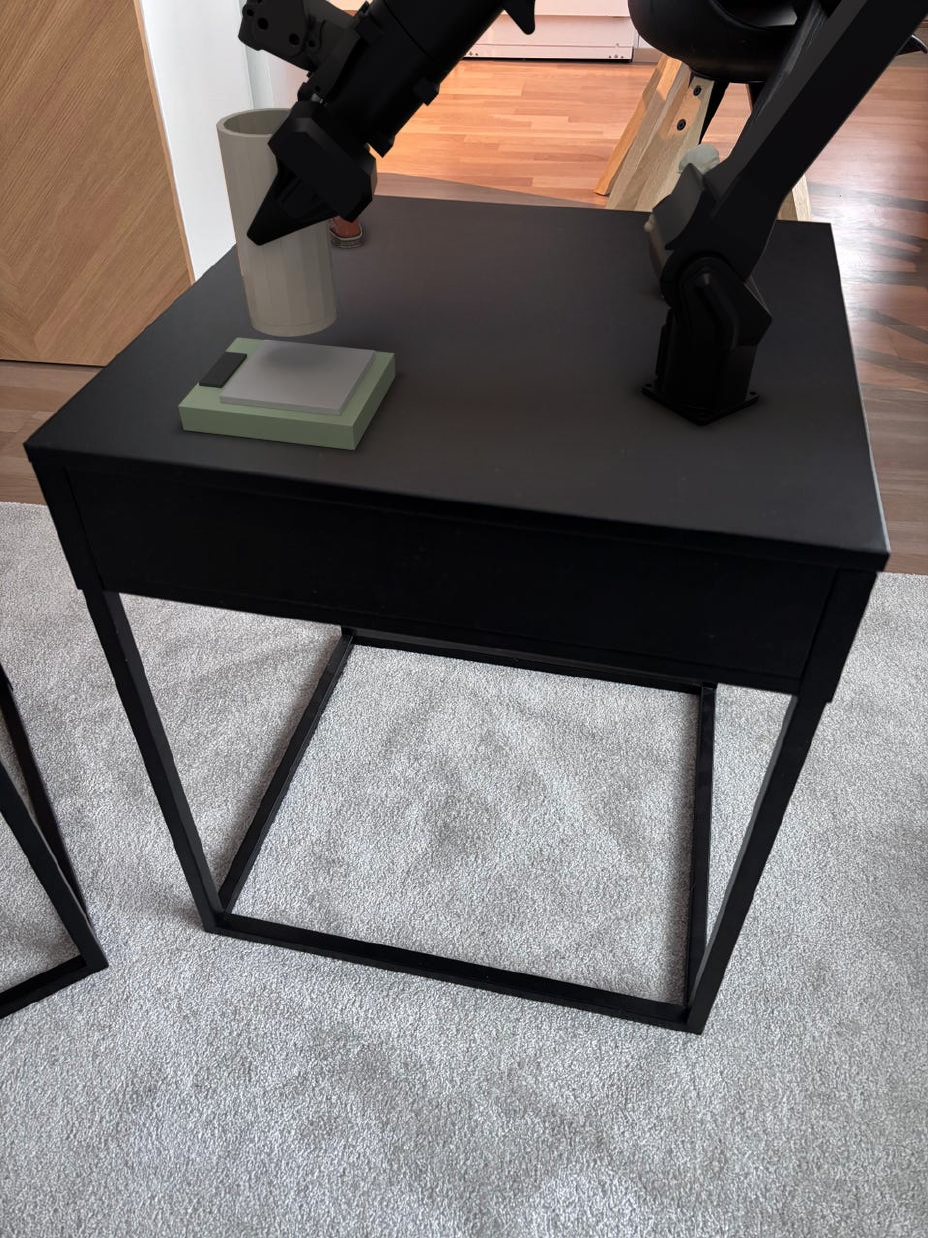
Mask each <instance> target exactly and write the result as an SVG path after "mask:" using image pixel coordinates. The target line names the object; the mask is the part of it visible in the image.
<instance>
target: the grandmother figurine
mask: <svg viewBox="0 0 928 1238" xmlns="http://www.w3.org/2000/svg"><path fill="white" fill-rule="evenodd" d="M720 158H721V157H720V153H719V150H718V149H717V148H716V146H714V145H712V144H707V143H700V144H695V145H694V146H692V147H690V148H689V150H687V151H686V153H684V155H683V157H682V158H681V159H680V161H679V164H678V171H677V172H676V173H677V174H680V175H681V173H682V171H683V170H684V168H685V167H686V165H687V164H688V163H692V164H693V165H694V166H695V167H696V168H697V169H698V170H699V171H700V172H701V173H702V174H703V175H704V174H705V173H706V172H708V171H709V170H711V169H712V168H713V167H715V166H716V165H718V164H719V163H720V162H721V159H720ZM670 194H671V193H669V194H667V195H666V196H665V197H663V198H662V199H661V200H660V201H658V202H657V203H656V204H655V206H653V207H652V208H651V212H652V211H653V210H654V209H655V208H656V207H658V206H659V205H661V204H662V203H663V202H664V201H665V200H666V199H667V198H668V196H669V195H670ZM654 225H655V220H654V217H653V214H652V213H651V214H650V215H649V217H648V220H647V221H646V222H645V223H644V226H643V229H644V232H646V233H647V234H650V233H651V231H652V229H653V227H654ZM661 298H662V299H664V298H663V296H662V295H661Z"/></svg>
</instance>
